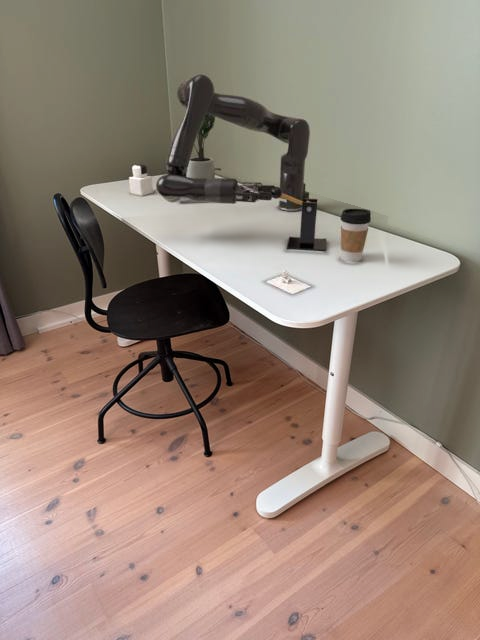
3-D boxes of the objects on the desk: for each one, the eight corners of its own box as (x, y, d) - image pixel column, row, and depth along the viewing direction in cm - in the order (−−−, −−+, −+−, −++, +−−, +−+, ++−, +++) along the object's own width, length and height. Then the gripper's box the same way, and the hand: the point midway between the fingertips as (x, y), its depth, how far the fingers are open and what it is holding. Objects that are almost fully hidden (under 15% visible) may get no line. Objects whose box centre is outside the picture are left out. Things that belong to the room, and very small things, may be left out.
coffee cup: (359, 267, 136) (366, 216, 129) (331, 262, 140) (336, 212, 133) (369, 258, 143) (376, 209, 135) (342, 253, 147) (347, 204, 139)
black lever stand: (286, 251, 148) (288, 204, 141) (289, 240, 157) (291, 195, 149) (325, 253, 146) (329, 206, 139) (326, 242, 155) (330, 197, 148)
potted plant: (178, 190, 214) (171, 78, 192) (220, 188, 217) (217, 78, 194) (180, 203, 195) (172, 81, 173) (225, 201, 198) (223, 80, 176)
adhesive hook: (286, 279, 130) (286, 268, 128) (293, 282, 128) (293, 271, 126) (278, 282, 128) (278, 271, 126) (285, 285, 126) (285, 274, 125)
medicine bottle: (142, 190, 214) (139, 162, 208) (153, 192, 211) (151, 164, 205) (130, 193, 209) (127, 165, 203) (141, 196, 206) (138, 167, 200)
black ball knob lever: (267, 197, 144) (272, 186, 142) (269, 194, 147) (273, 183, 145) (311, 215, 144) (316, 204, 143) (311, 211, 148) (316, 201, 146)
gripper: (216, 184, 139) (271, 186, 137) (225, 173, 152) (276, 175, 149) (216, 209, 143) (270, 211, 141) (226, 196, 155) (275, 198, 153)
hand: (273, 192), depth 145 cm, fingers open, 8 cm apart
